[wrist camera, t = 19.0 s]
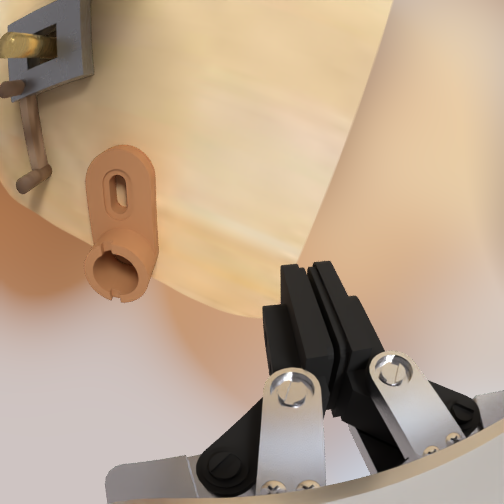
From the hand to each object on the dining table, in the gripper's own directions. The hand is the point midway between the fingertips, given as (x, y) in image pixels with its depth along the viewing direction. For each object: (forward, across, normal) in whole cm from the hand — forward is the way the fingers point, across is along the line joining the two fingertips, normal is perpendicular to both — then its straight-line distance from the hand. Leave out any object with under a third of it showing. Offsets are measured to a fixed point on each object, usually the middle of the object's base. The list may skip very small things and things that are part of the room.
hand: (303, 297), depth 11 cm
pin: (+27, +23, -17) cm, 39 cm away
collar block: (+27, +23, -17) cm, 39 cm away
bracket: (+28, +16, +7) cm, 33 cm away
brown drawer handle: (+27, +27, -7) cm, 39 cm away
